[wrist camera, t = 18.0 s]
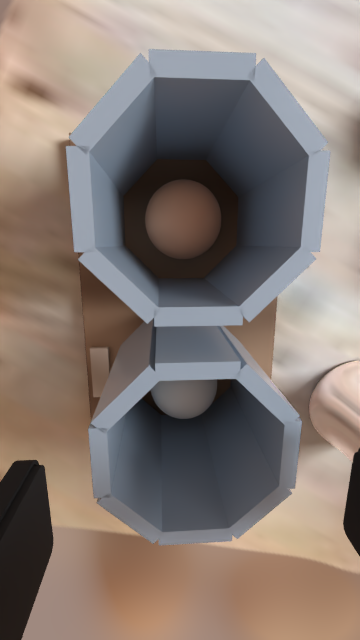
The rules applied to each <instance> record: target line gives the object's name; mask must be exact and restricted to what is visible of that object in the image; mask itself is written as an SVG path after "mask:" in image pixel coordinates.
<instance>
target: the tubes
mask: <svg viewBox="0 0 360 640" xmlns="http://www.w3.org/2000/svg"><path fill="white" fill-rule="evenodd" d="M69 139H70V140H71V141H72V142H73V143H74V144H75V145H76V146H66V156H67V168H68V181H69V194H70V206H71V219H72V231H73V244H74V252H84V253H83V255H82V256H81V257H80V258H79V259H78V260H79V261H80V262H81V263H82V264H83V265H84V266H85V267H86V268H87V269H89V270H90V271H91V272H92V273H93V274H94V275H95V276H96V277H97V278H98V279H99V280H100V281H101V282H103V283H104V284H105V285H106V286H107V287H108V288H109V289H110V290H111V291H112V292H113V293H114V294H116V295H117V296H118V297H119V298H120V299H121V300H122V301H123V302H124V303H125V304H126V305H127V306H129V307H130V308H131V309H132V310H133V311H134V312H135V313H136V314H137V315H138V316H139V317H140V318H141V319H143V320H144V322H143V323H142V324H141V325H140V326H139V327H138V328H137V329H136V330H135V331H134V332H133V333H132V334H131V335H130V336H129V337H128V338H127V339H126V340H125V341H124V342H123V343H122V344H121V345H120V348H119V350H118V353H117V356H116V358H115V361H114V363H113V366H112V369H111V371H110V374H109V376H108V379H107V382H106V384H105V387H104V389H103V392H102V394H101V397H100V400H99V402H98V405H97V407H96V410H95V413H94V415H93V418H92V420H91V423H90V426H89V428H88V432H89V444H90V457H91V469H92V482H93V494H94V498H98V500H97V504H99V505H100V506H101V507H103V508H104V509H106V510H107V511H108V512H110V513H111V514H113V515H114V516H115V517H117V518H118V519H119V520H121V521H122V522H124V523H125V524H126V525H128V526H129V527H131V528H132V529H133V530H135V531H136V532H137V533H139V534H140V535H142V536H143V537H144V538H146V539H147V540H149V541H150V542H151V543H153V544H154V543H155V542H156V541H157V540H158V539H159V545H174V544H191V543H208V542H225V541H232V535H233V536H234V537H235V538H237V539H238V538H239V537H240V536H241V535H243V534H244V533H245V532H246V531H247V530H249V529H250V528H251V527H252V526H253V525H255V524H256V523H257V522H258V521H259V520H261V519H262V518H263V517H264V516H265V515H267V514H268V513H269V512H270V511H271V510H273V509H274V508H275V507H276V506H277V505H279V504H280V503H281V502H282V501H283V500H285V499H286V498H287V497H288V496H289V495H291V494H292V492H291V490H290V489H294V488H295V483H296V473H297V464H298V454H299V445H300V435H301V426H302V420H301V419H300V418H299V416H300V415H299V414H298V413H297V411H296V410H295V409H294V408H293V406H292V405H291V404H290V403H289V401H288V400H287V399H286V398H285V397H284V395H283V394H282V393H281V392H280V390H279V389H278V388H277V387H276V385H275V384H274V383H273V382H272V381H271V379H270V378H269V377H268V376H267V374H266V373H265V372H264V371H263V369H262V368H261V367H260V366H259V365H258V363H257V362H256V361H255V360H254V358H253V357H252V356H251V355H250V353H249V352H248V351H247V350H246V349H245V347H244V346H243V345H242V344H241V342H240V341H239V340H238V339H237V338H236V337H234V336H233V335H232V334H231V333H230V332H229V331H228V330H227V329H226V328H225V327H224V326H227V325H243V317H244V318H245V319H246V320H247V321H248V322H250V321H251V320H252V319H253V318H255V317H256V316H257V315H258V314H259V313H260V312H261V311H262V310H263V309H264V308H265V307H266V306H267V305H268V304H269V303H270V302H271V301H272V300H273V299H275V298H276V297H277V296H278V295H279V294H280V293H281V292H282V291H283V290H284V289H285V288H286V287H287V286H288V285H289V284H290V283H291V282H292V281H294V280H295V279H296V278H297V277H298V276H299V275H300V274H301V273H302V272H303V271H304V270H305V269H306V268H307V267H308V266H309V265H310V264H311V263H313V262H314V261H315V260H316V258H315V257H314V256H313V254H312V253H311V252H320V246H321V236H322V227H323V217H324V208H325V198H326V189H327V179H328V170H329V160H330V151H320V150H321V149H322V148H323V147H324V146H325V145H326V144H327V143H328V141H327V140H326V139H325V137H324V136H323V135H322V133H321V132H320V131H319V129H318V128H317V127H316V126H315V124H314V123H313V122H312V120H311V119H310V118H309V116H308V115H307V114H306V112H305V111H304V110H303V108H302V107H301V106H300V104H299V103H298V102H297V100H296V99H295V98H294V97H293V95H292V94H291V93H290V91H289V90H288V89H287V87H286V86H285V85H284V83H283V82H282V81H281V79H280V78H279V77H278V75H277V74H276V73H275V71H274V70H273V69H272V67H271V66H270V65H269V64H268V62H267V61H266V60H265V58H263V59H262V60H261V61H260V62H259V63H258V64H257V65H256V53H237V52H211V51H184V50H157V49H149V62H148V61H147V60H146V59H145V58H144V56H143V55H142V54H141V53H140V54H139V55H138V56H137V58H136V59H135V60H134V61H133V62H132V63H131V65H130V66H129V67H128V68H127V69H126V70H125V72H124V73H123V74H122V75H121V76H120V77H119V79H118V80H117V81H116V82H115V83H114V84H113V86H112V87H111V88H110V89H109V90H108V91H107V93H106V94H105V95H104V96H103V97H102V98H101V100H100V101H99V102H98V103H97V104H96V105H95V107H94V108H93V109H92V110H91V111H90V112H89V114H88V115H87V116H86V117H85V118H84V120H83V121H82V122H81V123H80V124H79V125H78V127H77V128H76V129H75V130H74V131H73V132H72V134H71V135H70V136H69ZM157 159H179V160H206V161H207V162H208V163H209V164H210V165H211V166H212V167H213V169H214V170H215V171H216V172H217V173H218V174H219V175H220V177H221V178H222V179H223V180H224V181H225V182H226V183H227V185H228V186H229V187H230V188H231V189H232V190H233V191H234V193H235V194H236V195H237V196H238V219H237V243H236V246H235V247H234V248H233V249H232V250H231V251H230V252H229V253H228V254H227V255H226V256H225V257H224V258H223V259H222V260H221V261H220V262H219V263H218V264H217V265H216V266H215V267H214V268H213V269H212V270H211V271H210V272H209V273H208V274H207V275H206V276H205V277H204V278H158V277H157V276H156V275H155V274H154V273H153V272H152V271H151V270H150V269H149V268H148V267H147V266H146V265H145V264H144V263H143V262H142V261H141V260H140V259H139V258H138V257H137V256H136V255H135V254H134V253H133V252H132V251H131V250H130V249H128V248H127V247H126V246H125V221H124V197H123V196H124V195H125V194H126V193H127V192H128V190H129V189H130V188H131V187H132V186H133V185H134V184H135V183H136V182H137V181H138V180H139V178H140V177H141V176H142V175H143V174H144V173H145V172H146V171H147V170H148V169H149V167H150V166H151V165H152V164H153V163H154V162H155V161H156V160H157ZM212 379H231V385H230V388H229V389H228V390H227V391H226V392H224V393H223V394H222V395H221V396H220V397H219V398H218V399H217V400H216V401H215V402H214V403H213V404H211V405H210V407H209V408H208V409H207V410H206V411H205V412H203V413H202V414H200V415H198V416H196V417H193V418H189V419H178V418H174V417H171V416H169V415H160V414H159V413H158V412H157V411H156V410H155V409H153V408H152V407H151V406H150V405H149V404H147V403H146V402H145V401H144V400H143V399H142V397H143V396H144V395H145V394H146V393H147V392H148V391H150V390H151V389H152V388H153V387H154V386H155V385H156V384H157V383H158V382H159V381H174V380H212Z"/></svg>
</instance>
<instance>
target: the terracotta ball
mask: <svg viewBox="0 0 360 640" xmlns="http://www.w3.org/2000/svg"><path fill="white" fill-rule="evenodd" d="M145 224H146V230H147V233H148V236H149V238H150V240H151V242H152V243H153V245H154V246H155V247H156V248H157V249H158V250H159V251H160V252H162V253H163V254H165V255H167V256H169V257H172V258H175V259H191V258H195V257H197V256H199V255H201V254H203V253H205V252H206V251H207V250H208V249H209V248H210V247H211V246H212V245H213V244H214V242H215V241H216V239H217V237H218V235H219V232H220V228H221V211H220V207H219V204H218V202H217V200H216V198H215V196H214V195H213V194H212V192H211V191H210V190H209V189H208V188H206V187H205V186H204V185H202V184H200V183H198V182H195V181H192V180H186V179H181V180H174V181H171V182H168V183H167V184H165V185H163V186H162V187H160V188H159V189H158V190H157V191H156V192H155V193H154V194H153V196H152V197H151V199H150V201H149V203H148V206H147V209H146V214H145Z"/></svg>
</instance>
